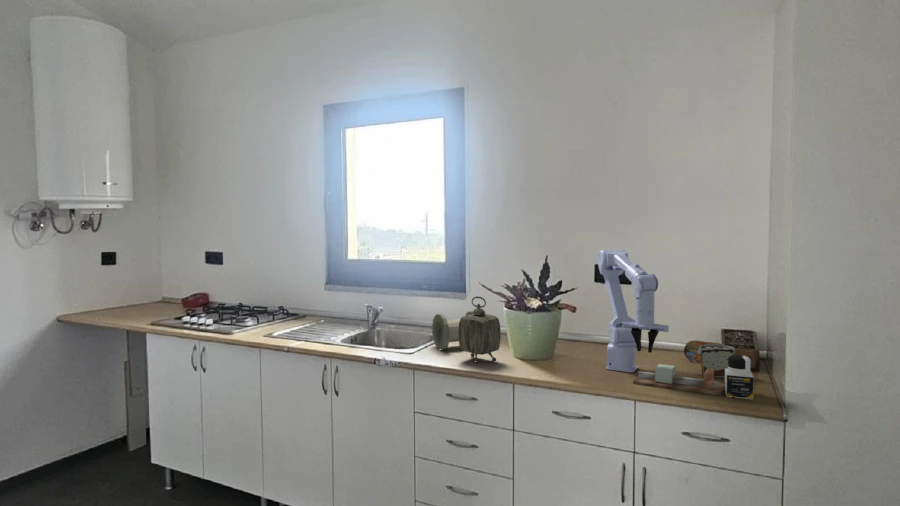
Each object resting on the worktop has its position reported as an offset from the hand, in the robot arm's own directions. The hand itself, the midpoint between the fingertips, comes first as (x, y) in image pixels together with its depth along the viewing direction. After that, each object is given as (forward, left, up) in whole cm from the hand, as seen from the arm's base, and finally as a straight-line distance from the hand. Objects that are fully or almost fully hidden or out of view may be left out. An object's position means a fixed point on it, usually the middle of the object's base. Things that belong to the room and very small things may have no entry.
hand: (644, 351), depth 182 cm
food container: (+18, +19, -10) cm, 28 cm away
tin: (+14, +33, -10) cm, 37 cm away
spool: (-80, +10, -10) cm, 81 cm away
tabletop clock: (-60, -5, -10) cm, 62 cm away
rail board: (+10, 0, -10) cm, 14 cm away
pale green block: (+7, 0, -9) cm, 11 cm away
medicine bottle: (+28, -1, -10) cm, 30 cm away
